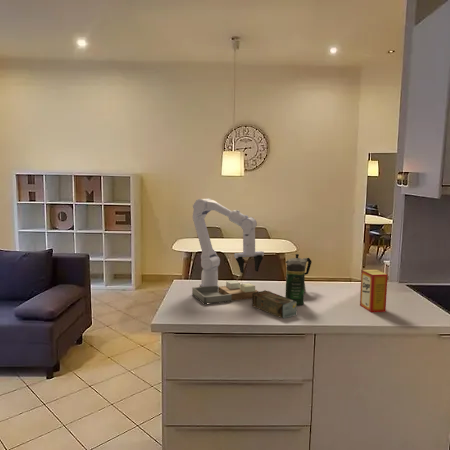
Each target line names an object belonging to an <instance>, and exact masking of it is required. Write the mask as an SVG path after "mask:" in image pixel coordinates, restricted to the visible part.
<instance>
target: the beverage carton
mask: <svg viewBox="0 0 450 450" xmlns="http://www.w3.org/2000/svg"><path fill="white" fill-rule="evenodd" d="M251 299H252V300H251V301H252V307H253V308H257V309H259V310H261V311H264V312H266V313H269V314H270V315H274V316H276V317H279V318H281V319H286V318H290V317H294V316H297V312H298V311H297V306H296V304H297V302H296V301H294V300H291V299H288V298H286V297H285V296H283V295H280V294H277V293H274V292H272V291H269V290H266V289H264V290H262V291H259V292H256V293H253V294H252V298H251Z"/></svg>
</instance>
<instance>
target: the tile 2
mask: <svg viewBox="0 0 450 450" xmlns="http://www.w3.org/2000/svg"><path fill="white" fill-rule="evenodd" d="M240 285H241V290H242V291H244V292H253V291H255V290H256V285H254V284H252V283H242V284H241V283H240Z"/></svg>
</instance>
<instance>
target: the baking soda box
mask: <svg viewBox="0 0 450 450" xmlns="http://www.w3.org/2000/svg"><path fill="white" fill-rule="evenodd" d="M360 272H361V275H360V296H359V306H360V307H362V308H363V309H364V310H366V311H367V312H370V313H385V312H386V311H387V290H388V274H387V273H385V272H384V271H381V270H379V269H361V271H360Z"/></svg>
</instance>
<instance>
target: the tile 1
mask: <svg viewBox="0 0 450 450" xmlns="http://www.w3.org/2000/svg"><path fill="white" fill-rule="evenodd" d="M225 284H226V285H225V286H226V287H228V288H230V289H236V288H240V285H241V282H240V281H238V280H226V282H225Z"/></svg>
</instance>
